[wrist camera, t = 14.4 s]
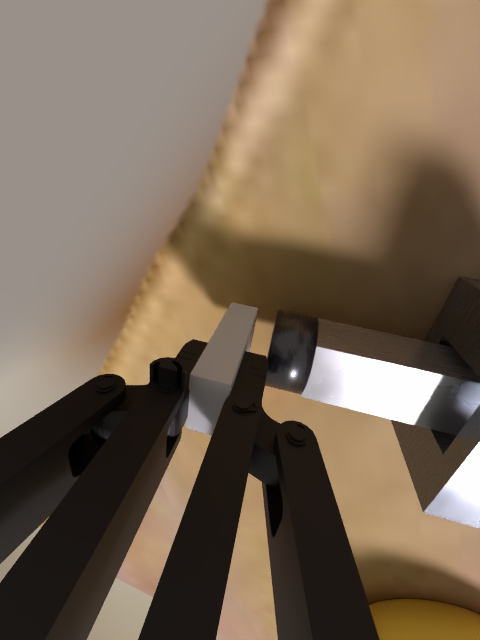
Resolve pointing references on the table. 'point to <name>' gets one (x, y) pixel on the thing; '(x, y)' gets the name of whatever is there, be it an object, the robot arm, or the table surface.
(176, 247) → the table surface
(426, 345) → the shaft
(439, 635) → the teapot
